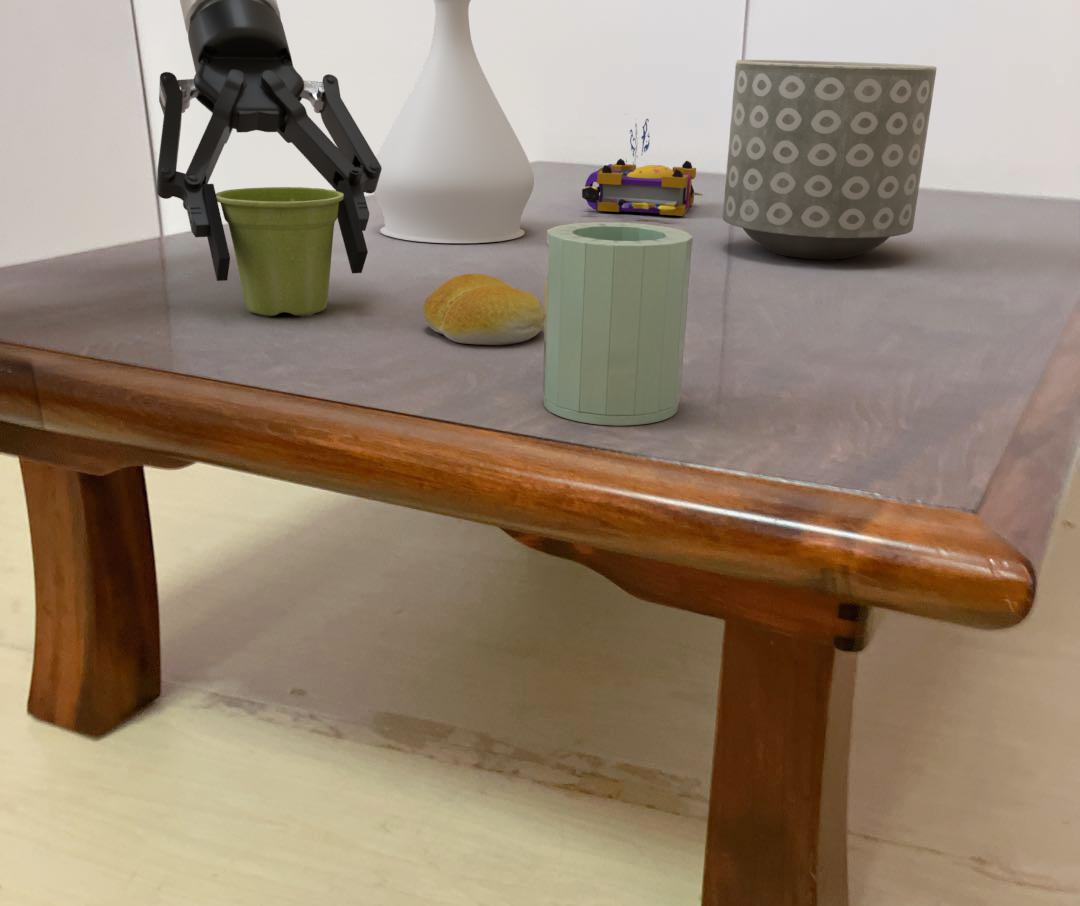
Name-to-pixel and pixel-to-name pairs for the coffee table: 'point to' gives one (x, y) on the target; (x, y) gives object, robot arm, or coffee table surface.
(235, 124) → the robot arm
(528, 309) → the bread roll
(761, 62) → the planter
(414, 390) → the coffee table surface
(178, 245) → the coffee table surface
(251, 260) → the plant pot
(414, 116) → the vase
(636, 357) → the cup
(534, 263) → the coffee table surface
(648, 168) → the multicoloured boxy piece
